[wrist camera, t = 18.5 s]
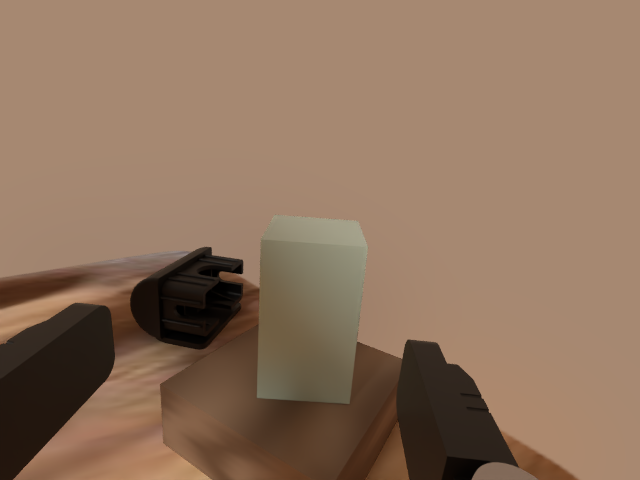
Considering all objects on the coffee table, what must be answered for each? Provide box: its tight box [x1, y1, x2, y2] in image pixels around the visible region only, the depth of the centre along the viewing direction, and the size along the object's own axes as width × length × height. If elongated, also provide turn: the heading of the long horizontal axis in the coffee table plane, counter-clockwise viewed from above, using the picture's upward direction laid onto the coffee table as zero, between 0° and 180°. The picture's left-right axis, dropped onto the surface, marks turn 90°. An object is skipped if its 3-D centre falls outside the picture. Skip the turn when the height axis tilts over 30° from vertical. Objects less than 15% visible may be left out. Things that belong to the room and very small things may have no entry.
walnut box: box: [160, 324, 402, 480], centre depth 25 cm, size 12×12×5 cm
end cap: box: [130, 247, 243, 349], centre depth 37 cm, size 10×7×7 cm
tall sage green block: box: [257, 215, 368, 404], centre depth 23 cm, size 6×6×10 cm
